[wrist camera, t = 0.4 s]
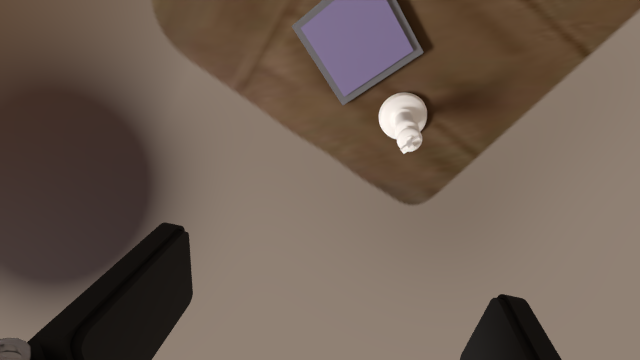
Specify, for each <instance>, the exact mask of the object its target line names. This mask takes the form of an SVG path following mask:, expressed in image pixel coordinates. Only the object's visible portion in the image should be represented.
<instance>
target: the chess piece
mask: <svg viewBox="0 0 640 360" xmlns="http://www.w3.org/2000/svg"><path fill="white" fill-rule="evenodd" d="M426 120H427V109H426V106H425V104H424V102H423V101H422V100H421V99H420V98H419V97H418V96H416V95H414V94H412V93H406V92H403V93H397V94H395V95H392V96H391V97H389V98H388V99H387V100H386V101H385V102H384V103H383V105H382V106H381V108H380V111H379V123H380V126H381V128H382V130H383V131H384V132H385V133H386V134H387V135H388V136H389V137H391V138H394V139H397V144H398V146H399V147H400V150H401V151H402V152H403V154H405V153H406V152H408V151H411V152H412V151H414V150H416V149H417V148H419V147H420V145H421V143H422V135H421V133H420V132H421V130H422V129H423V128H424V126H425V124H426Z"/></svg>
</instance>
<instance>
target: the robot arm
mask: <svg viewBox="0 0 640 360" xmlns="http://www.w3.org/2000/svg"><path fill="white" fill-rule="evenodd" d="M190 261H191V260H190V245H189V234H188V232H185V230H184V228H183V226H179V225H175V224H169V223H162V224H161V225H159V226H158V227H157V228H156V229H155V230H154V231H152V232H151V233H150V234H149V235H148V236H147V237H146V238H145V239H143V240H142V241H141V242H140V243H139V244H138V245H137V246H135V247H134V248H133V249H132V250H131V251H130V252H129V253H128V254H126V255H125V256H124V257H123V258H122V259H121V260H120V261H118V262H117V263H116V264H115V265H114V266H113V267H112V268H111V269H110V270H108V271H107V272H106V273H105V274H104V275H103V276H101V277H100V278H99V279H98V280H97V281H96V282H95V283H93V284H92V285H91V286H90V287H89V288H88V289H87V290H86V291H84V292H83V293H82V294H81V295H80V296H79V297H78V298H76V299H75V300H74V301H73V302H72V303H71V304H70V305H69V306H67V307H66V308H65V309H64V310H63V311H62V312H61V313H60V314H58V315H57V316H56V317H55V318H54V319H53V320H52V321H51V322H49V323H48V324H47V325H46V326H45V327H44V328H43V329H41V330H40V331H39V332H38V333H37V334H36V335H35V336H34V337H33V338H32V339H30V340H29V341H28V342H26V341H24V340H21V339H19V338H3V339H0V360H152V358H153V357H154V355H155V354H156V352H157V351H158V349H159V348H160V346H161V345H162V344H163V342H164V341H165V339H166V338H167V336H168V335H169V333H170V332H171V330H172V329H173V328H174V326H175V325H176V323H177V322H178V320H179V319H180V317H181V316H182V314H183V313H184V311H185V310H186V308H187V307H188V305H189V304H190V302H191V299H192V295H193V291H192V277H191V276H192V275H191V262H190ZM460 360H561V358H560V356H559V355H558V353H557V351H556V350H555V348H554V346H553V345H552V343H551V341H550V340H549V338H548V336H547V335H546V333H545V331H544V330H543V328H542V326H541V325H540V323H539V321H538V320H537V318H536V316H535V315H534V313H533V311H532V309H531V308H530V306H529V304H528V303H527V302H526V300H524V299H522V298H518V297H513V296H509V295H504V294H501V295H499V296H498V297H497V298H493V299H492V300H491V301H490V303H489V305H488V306H487V308H486V310H485V312H484V314H483V316H482V317H481V319H480V321H479V323H478V325H477V327H476V329H475V330H474V332H473V334H472V336H471V338H470V340H469V342H468V343H467V345H466V347H465V349H464V351H463V352H462V354H461V358H460Z"/></svg>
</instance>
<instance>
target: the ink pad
mask: <svg viewBox="0 0 640 360" xmlns="http://www.w3.org/2000/svg"><path fill="white" fill-rule="evenodd" d="M292 28H293V29H294V31H295V32H296V34H297V35H298V37H299V38H300V40H301V42H302V43H303V45H304V46H305V48H306V49H307V51H308V52H309V54H310V56H311V57H312V59H313V60H314V62H315V63H316V65H317V66H318V68H319V70H320V71H321V73H322V74H323V76H324V77H325V79H326V80H327V82H328V84H329V85H330V87H331V88H332V90H333V91H334V93H335V94H336V96H337V98H338V99H339V101H340V102H341V104H342V105H344V104H346V103H347V102H349V101H350V100H352V99H353V98H355V97H357V96H358V95H360V94H361V93H363V92H364V91H366V90H367V89H369V88H370V87H372V86H373V85H375V84H376V83H378V82H379V81H381V80H383V79H384V78H386V77H387V76H389V75H390V74H392V73H393V72H395V71H396V70H398V69H399V68H401V67H402V66H404V65H405V64H407V63H409V62H410V61H412V60H413V59H415V58H416V57H418V56H419V55H421V54H422V53H424V52H423V50H422V48H421V46H420V45H419V43H418V41H417V39H416V37H415V35H414V33H413V31H412V29H411V27H410V26H409V24H408V22H407V20H406V18H405V16H404V14H403V12H402V10H401V8H400V7H399V5H398V3H397V1H396V0H322V1H321V2H320V3H319V4H318V5H316V6H315V7H314V8H313V9H312V10H310V11H309V12H308V13H307V14H306V15H304V16H303V17H302V18H301V19H300V20H298V21H297V22H296V23H295V24H294V25H292Z"/></svg>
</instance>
